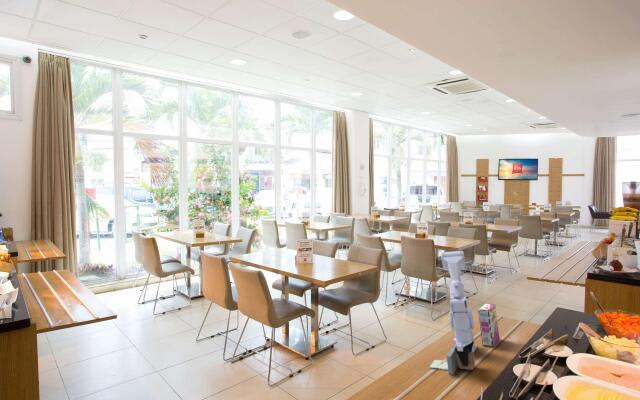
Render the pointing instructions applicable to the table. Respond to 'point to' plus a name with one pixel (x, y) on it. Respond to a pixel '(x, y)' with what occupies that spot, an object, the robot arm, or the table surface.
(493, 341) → the candy bar box
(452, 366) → the slate screen
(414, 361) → the table surface
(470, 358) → the walnut letter cube
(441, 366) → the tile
